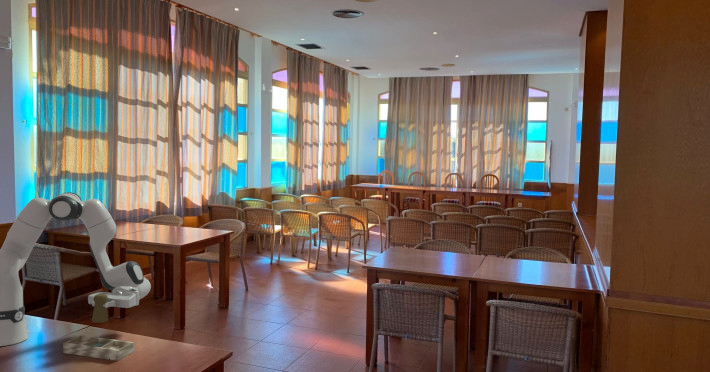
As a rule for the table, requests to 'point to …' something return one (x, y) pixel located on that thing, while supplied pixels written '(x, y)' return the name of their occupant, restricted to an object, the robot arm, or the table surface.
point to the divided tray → (98, 347)
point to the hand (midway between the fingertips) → (98, 305)
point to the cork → (100, 309)
